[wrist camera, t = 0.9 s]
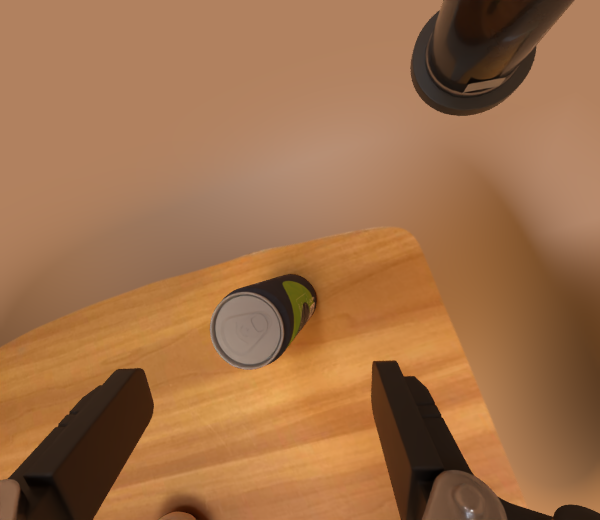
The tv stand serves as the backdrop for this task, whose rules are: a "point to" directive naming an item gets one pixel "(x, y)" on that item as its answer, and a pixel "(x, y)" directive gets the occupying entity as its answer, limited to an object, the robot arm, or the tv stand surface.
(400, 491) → the robot arm
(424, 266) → the tv stand surface
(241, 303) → the beverage can
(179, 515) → the decorative object
